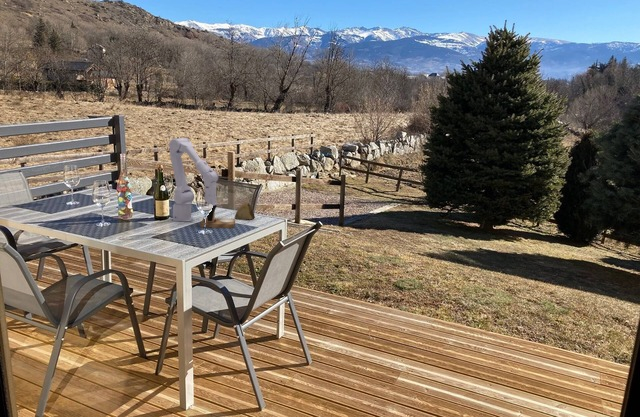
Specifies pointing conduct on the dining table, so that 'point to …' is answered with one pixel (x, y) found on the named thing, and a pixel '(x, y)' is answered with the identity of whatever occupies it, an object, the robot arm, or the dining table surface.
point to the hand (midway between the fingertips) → (210, 219)
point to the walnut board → (217, 224)
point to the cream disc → (226, 220)
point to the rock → (245, 212)
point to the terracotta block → (212, 219)
